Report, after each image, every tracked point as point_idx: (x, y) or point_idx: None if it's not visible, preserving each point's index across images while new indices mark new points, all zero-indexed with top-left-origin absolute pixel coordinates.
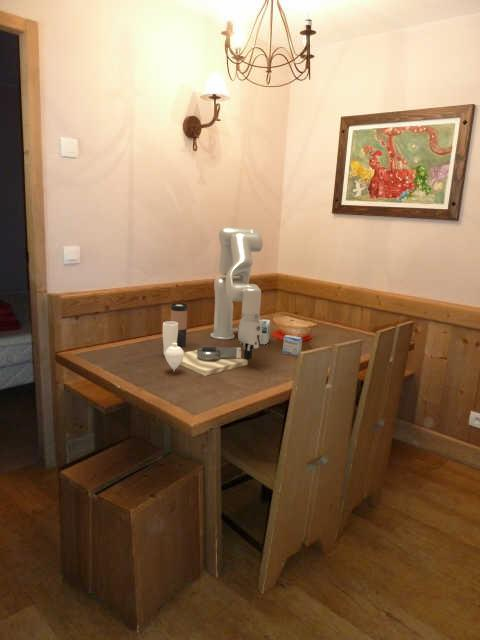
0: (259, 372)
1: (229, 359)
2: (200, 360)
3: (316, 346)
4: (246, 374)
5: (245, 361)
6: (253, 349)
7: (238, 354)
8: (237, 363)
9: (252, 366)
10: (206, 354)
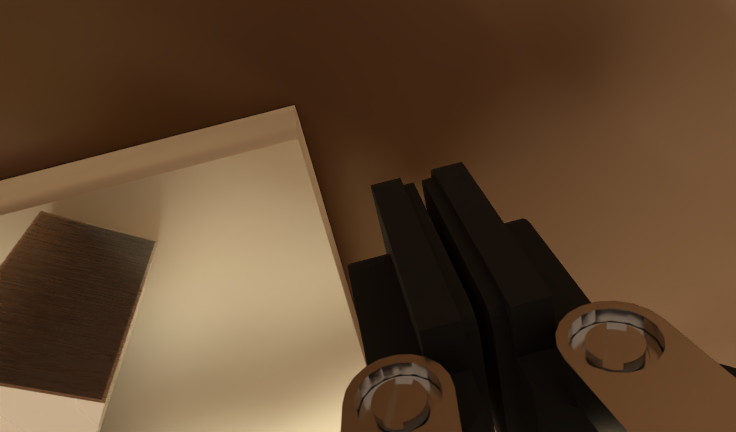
0: (708, 111)
1: (145, 412)
2: None
3: None
4: None
5: (316, 194)
6: (656, 318)
7: (127, 339)
8: (365, 359)
9: (413, 59)
10: None
